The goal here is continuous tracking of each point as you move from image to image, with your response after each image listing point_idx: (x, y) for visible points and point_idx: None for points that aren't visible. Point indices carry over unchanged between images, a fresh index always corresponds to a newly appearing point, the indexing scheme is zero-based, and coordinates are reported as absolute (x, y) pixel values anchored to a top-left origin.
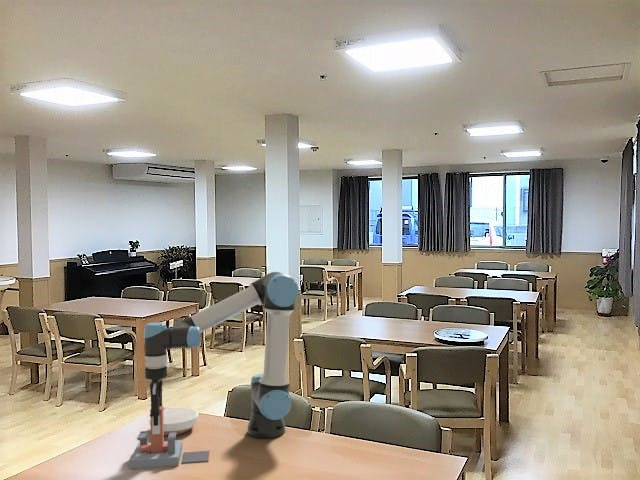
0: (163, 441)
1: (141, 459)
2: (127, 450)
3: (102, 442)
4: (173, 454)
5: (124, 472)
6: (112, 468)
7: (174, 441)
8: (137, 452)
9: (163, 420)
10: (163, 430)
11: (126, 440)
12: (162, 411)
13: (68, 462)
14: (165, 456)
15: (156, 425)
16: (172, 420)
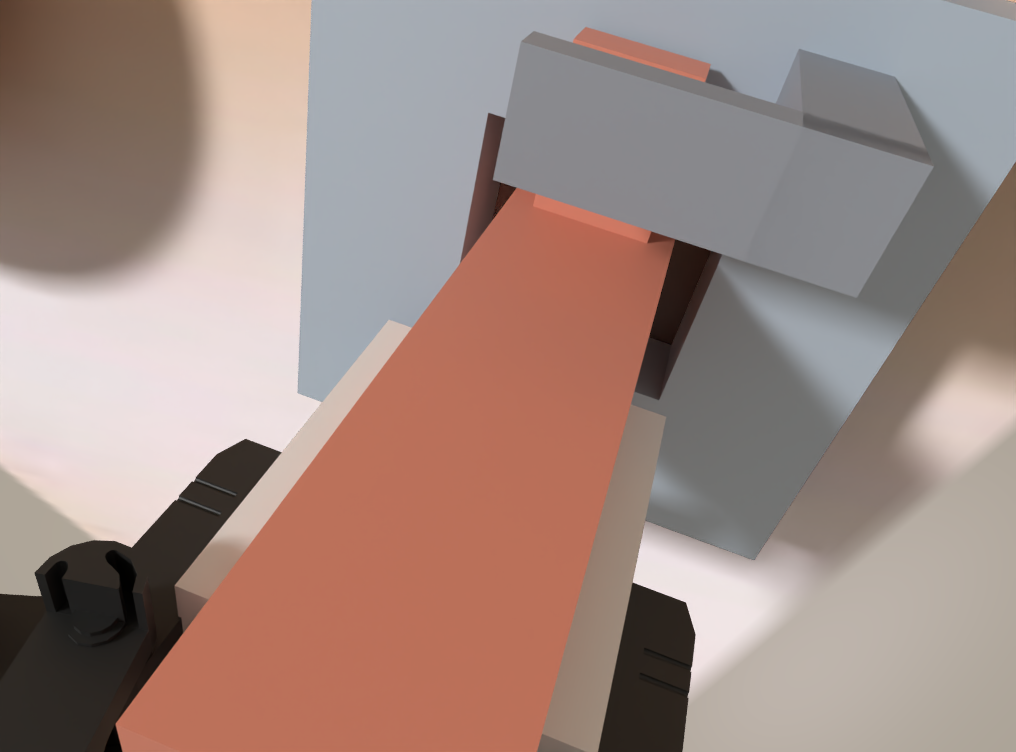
0: (543, 231)
1: (801, 483)
2: (300, 412)
3: (114, 503)
4: (907, 103)
5: (801, 546)
6: (650, 582)
7: (926, 150)
8: None
9: (356, 407)
10: (462, 305)
11: (81, 368)
12: (391, 706)
13: None
14: (900, 231)
15: (679, 623)
16: None
